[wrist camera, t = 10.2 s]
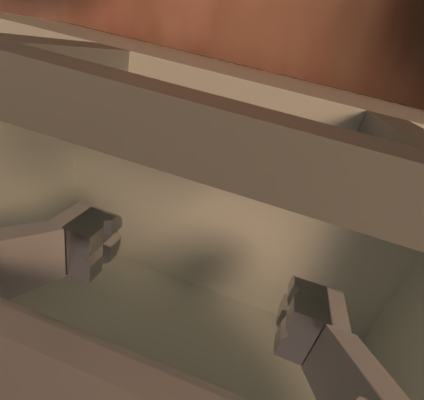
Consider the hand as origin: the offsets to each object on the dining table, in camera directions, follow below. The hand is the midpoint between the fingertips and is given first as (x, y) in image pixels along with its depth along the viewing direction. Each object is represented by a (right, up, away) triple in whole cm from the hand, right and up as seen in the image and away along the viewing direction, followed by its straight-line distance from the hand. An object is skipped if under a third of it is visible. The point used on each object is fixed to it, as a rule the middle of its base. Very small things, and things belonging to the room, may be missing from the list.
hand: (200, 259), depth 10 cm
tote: (+1, +2, +4) cm, 5 cm away
